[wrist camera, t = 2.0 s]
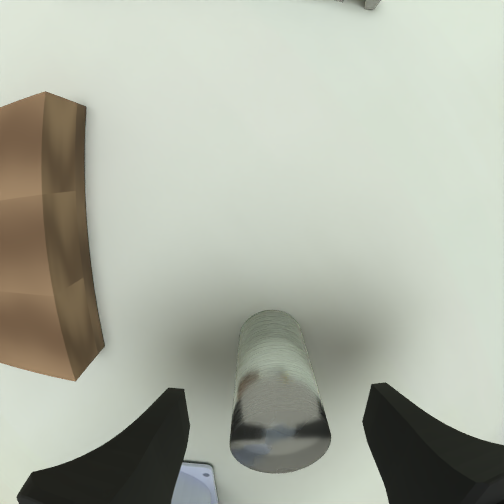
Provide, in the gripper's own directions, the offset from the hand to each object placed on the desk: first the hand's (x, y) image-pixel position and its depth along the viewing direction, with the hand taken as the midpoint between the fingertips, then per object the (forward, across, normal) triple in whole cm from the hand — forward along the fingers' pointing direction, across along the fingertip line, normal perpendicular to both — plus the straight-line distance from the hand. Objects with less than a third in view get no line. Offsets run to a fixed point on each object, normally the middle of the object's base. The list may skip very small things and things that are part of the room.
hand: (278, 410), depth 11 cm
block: (+6, +17, -6) cm, 19 cm away
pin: (+6, 0, 0) cm, 6 cm away
